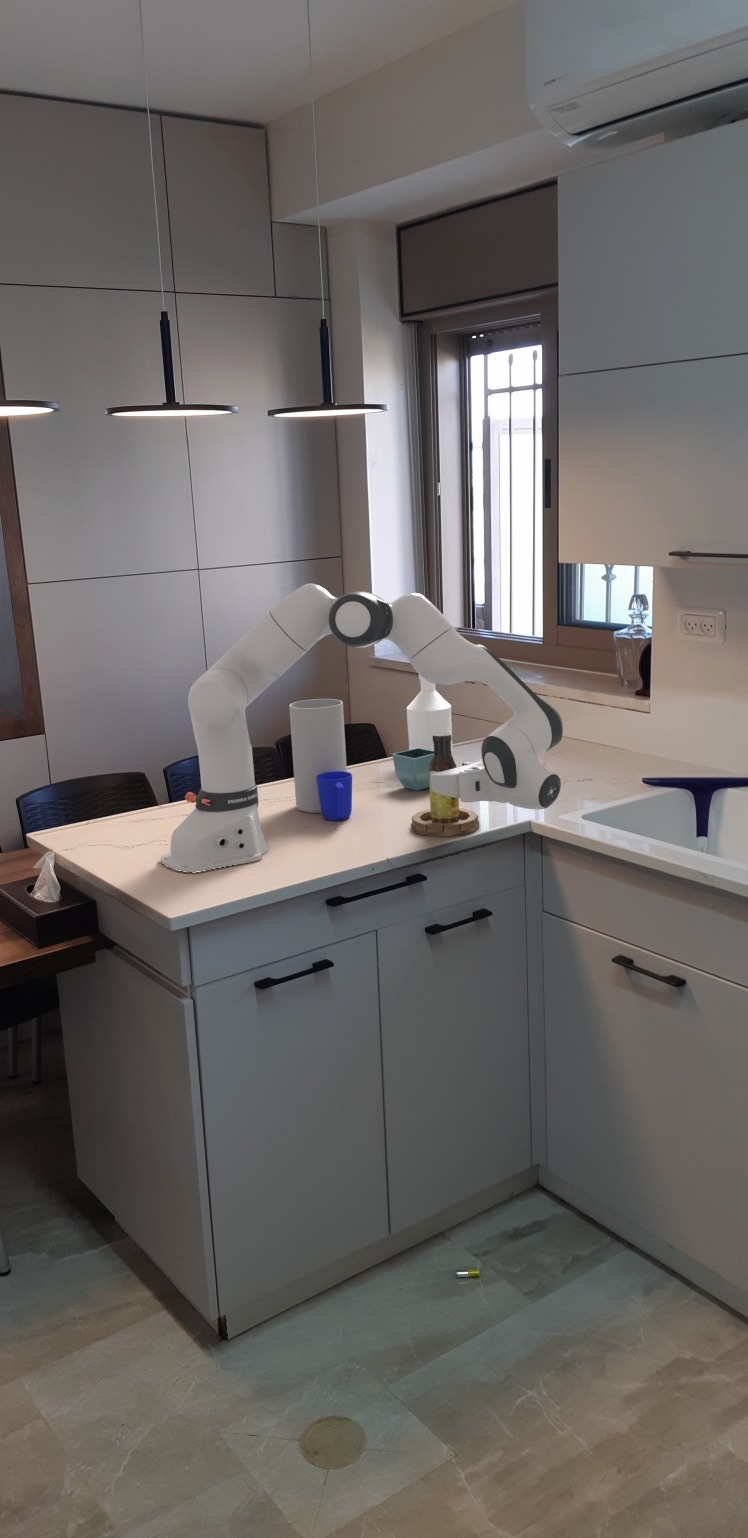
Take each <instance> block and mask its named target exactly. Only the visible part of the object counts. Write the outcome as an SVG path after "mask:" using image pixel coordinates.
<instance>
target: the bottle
mask: <svg viewBox="0 0 748 1538" xmlns="http://www.w3.org/2000/svg"><path fill="white" fill-rule="evenodd" d="M418 680H419V682H420V684H419V685H420V691H419V692H418V694H417V695H416V696H415V698H413V700H412V701H411V702H410V703H409V704H408V705H407V707H406V719H407V736H408V737H407V738H408V750H411V749H416V748H421V749H426V750H431V751H434V743H433V734H438V733H449V734H451V739H452V740H451V752H452V753H451V754H452V755H453V732H452V731H453V730H452V729H453V727H452V725H453V723H452V705H451V704H450V703H449V702H448V701H447V700H446V699H444V697H443V696H441V694H440V693H439V692H438V691H437V690H436V684H433V683H430V682H428V681H426V680H425V679H424V678H422V677H421V676H420V675H419V674H418Z"/></svg>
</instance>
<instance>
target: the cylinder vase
mask: <svg viewBox="0 0 748 1538" xmlns="http://www.w3.org/2000/svg"><path fill="white" fill-rule="evenodd" d="M288 706H289V708H288V709H289V722H290V735H291V736H290V737H291V747H292V748H291V749H292V763H293V764H292V765H293V779H294V790H295V791H294V794H295V806H296V808H297V810H299V811H301V812H303V813H309V814H322V813H321V807H320V800H319V793H318V786H317V779H316V777H317V775H319V774H322V773H326V772H334V771H343V772H348V771H347V755H346V754H347V753H346V737H345V720H344V719H345V718H344V703H343V701H342V700H341V699H340V700H339V699H335V698H314V699H312V698H311V699H305V700H299V701H294V702H292V703H290V704H289V705H288Z"/></svg>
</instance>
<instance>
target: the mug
mask: <svg viewBox="0 0 748 1538" xmlns="http://www.w3.org/2000/svg"><path fill="white" fill-rule="evenodd" d="M316 779H317V786H318V793H319V800H320V807H321V813H320V814H321V816H322V817H323V819H324V820H328V821H341V820H346V819H348V818H349V817H350V816H351V815H352V810H353V809H352V807H353V806H352V805H353V804H352V803H353V801H352V800H353V774H352V773H351V772H350V771H349V772H348V771H347V772H343V771H334V772H326V773H322V774H319V775H317V777H316Z"/></svg>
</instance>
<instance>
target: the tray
mask: <svg viewBox="0 0 748 1538" xmlns="http://www.w3.org/2000/svg"><path fill="white" fill-rule="evenodd" d="M431 820H432V819H431V808H430V809H426V810H421V811H419V812H416V813H415V814H413V816H411V823H410V830H411V832H413V833H415V834H418V835H421V836H426V837H432V836H433V837H434V838H435V837H436V838H441V837H442V838H449V837H458V836H464V835H467V834H468V835H469V834H471V833H474V832H476V831H477V830H478V829H479V828H480V821H479V815H478V814H477V813H476V812H475V811H474V810H471V809H470V810H469V809H466V808H461V807H459V822H455V823H444V824H443V823H432V821H431ZM475 830H476V831H475ZM473 831H474V832H473ZM433 837H432V838H433Z"/></svg>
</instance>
